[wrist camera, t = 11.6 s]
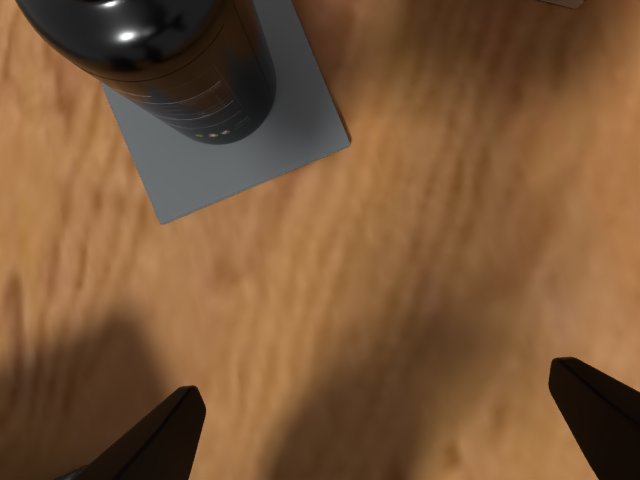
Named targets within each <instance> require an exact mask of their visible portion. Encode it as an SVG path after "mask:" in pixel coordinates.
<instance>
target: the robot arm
mask: <svg viewBox="0 0 640 480" xmlns="http://www.w3.org/2000/svg"><path fill="white" fill-rule="evenodd" d="M548 385H549V390H550V393H551V395H552V397H553V399H554V400H555V402H556V404H557V406H558V408H559V410H560V412H561V413H562V415H563V417H564V419H565V421H566V423H567V425H568V426H569V428H570V430H571V432H572V434H573V436H574V438H575V439H576V441H577V443H578V445H579V447H580V449H581V450H582V452H583V454H584V456H585V458H586V459H587V461H588V463H589V465H590V466H591V468H592V470H593V471H594V473H595V474H596V476H597V478H598V479H599V480H640V392H638V391H636V390H635V389H633V388H631V387H629V386H627V385H625V384H623V383H622V382H620V381H618V380H616V379H614V378H612V377H610V376H609V375H607V374H605V373H603V372H601V371H599V370H597V369H596V368H594V367H592V366H590V365H588V364H586V363H584V362H583V361H581V360H579V359H577V358H574V357H560V358H554V359H553V360H552V362H551V368H550V375H549V382H548ZM205 415H206V407H205V404H204V401H203V399H202V397H201V395H200V392H199V390H198V388H197V387H196V386H194V385H192V386H182V387H179V388H178V389H177V390H176V391H174V392H173V393H172V394H171V395H170V396H169V397H167V398H166V399H165V400H164V401H163V402H162V403H160V404H159V405H158V406H157V407H156V408H155V409H153V410H152V411H151V412H150V413H149V414H148V415H146V416H145V417H144V418H143V419H142V420H141V421H139V422H138V423H137V424H136V425H135V426H133V427H132V428H131V429H130V430H129V431H128V432H126V433H125V434H124V435H123V436H122V437H121V438H119V439H118V440H117V441H116V442H115V443H114V444H112V445H111V446H110V447H109V448H108V449H107V450H105V451H104V452H103V453H102V454H101V455H100V456H98V457H97V458H96V459H95V460H94V461H93V462H91V463H90V464H89V465H88V466H87V467H86V468H84V469H83V470H82V471H81V472H80V473H79V474H77V475H76V476H75V477H74V478H73V479H72V480H188V479H189V476H190V472H191V469H192V465H193V461H194V458H195V454H196V450H197V446H198V442H199V439H200V435H201V431H202V427H203V423H204V420H205Z"/></svg>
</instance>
